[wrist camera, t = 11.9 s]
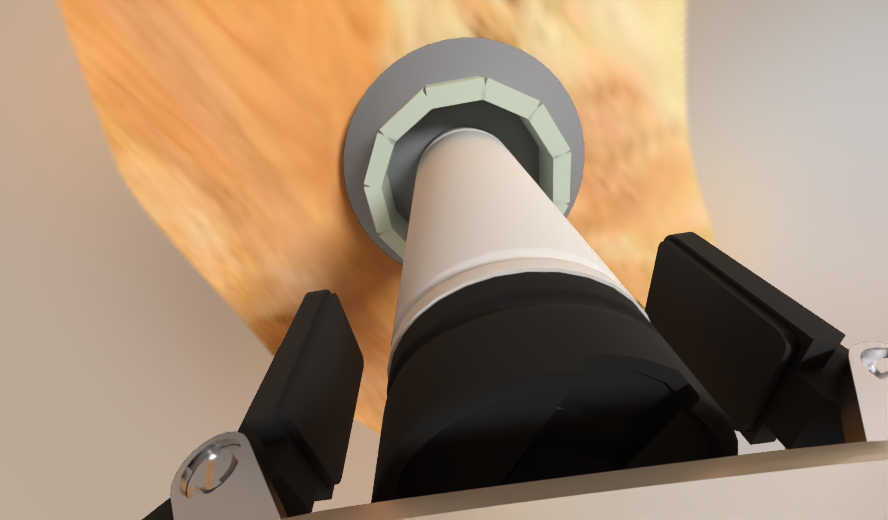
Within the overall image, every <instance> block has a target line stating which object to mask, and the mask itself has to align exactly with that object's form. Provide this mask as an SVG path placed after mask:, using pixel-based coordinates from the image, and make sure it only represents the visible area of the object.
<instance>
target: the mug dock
mask: <svg viewBox="0 0 888 520" xmlns="http://www.w3.org/2000/svg"><path fill="white" fill-rule="evenodd" d="M457 126H475V127H479V128H483V129H485V130H487V131H489V132H491V133H492V134H493V135H495V136H496V137H497V138H498V139H499V140H500V141H501V142H502V143H503V145H504V146H505V147H506V148H507V149H508V150H509V152H510V153H511V154H512V155H513V156H514V158H515V159H516V160H517V161H518V162H519V163H520V165H521V166H522V167H523V168H524V169H525V171H526V172H527V173H528V174H529V175H530V176H531V178H532V179H533V180H534V181H535V182H536V183H537V185H538V186H539V187H540V188H541V189H542V191H543V192H544V193H545V194H546V195H547V196H548V198H549V199H550V200H551V201H552V202H553V204H554V205H555V206H556V207H557V208H558V209H559V211H560V212H561V213H562V214H563V215H564V216H565V218H567V216H568V214H569V212H570V210H571V209H572V207H573V205H574V202H575V200H576V197H577V194H578V192H579V188H580V184H581V180H582V176H583V169H584V160H585V159H584V139H583V132H582V127H581V123H580V120H579V116H578V113H577V110H576V108H575V106H574V104H573V102H572V100H571V97H570V96H569V94H568V93H567V91H566V90H565V88H564V87H563V85H562V84H561V82H560V81H559V80H558V79H557V78H556V77H555V75H554V74H553V73H552V72H551V71H550V70H549V69H548V68H547V67H546V66H544V65H543V64H542V63H541V62H539V61H538V60H537V59H536V58H534V57H533V56H531V55H529V54H527V53H526V52H524V51H522V50H520V49H518V48H516V47H513V46H511V45H508V44H505V43H503V42H498V41H493V40H489V39H484V38H457V39H448V40H443V41H439V42H436V43H432V44H428V45H426V46H424V47H421V48H419V49H417V50H415V51H412V52H410V53H409V54H407V55H405V56H404V57H402V58H401V59H399V60H398V61H396V62H395V63H393V64H392V65H391V66H390V67H389V68H388V69H386V70H385V71H384V72H383V73H382V74H381V75H380V76H379V77H378V78H377V79H376V80H375V82H374V83H373V84H372V85H371V86H370V87H369V88H368V90H367V92H366V93H365V95H364V96H363V98H362V99H361V101H360V102H359V104H358V106H357V109H356V111H355V113H354V115H353V117H352V119H351V123H350V126H349V129H348V133H347V136H346V142H345V148H344V178H345V185H346V189H347V193H348V197H349V201H350V203H351V206H352V208H353V211H354V213H355V215H356V217H357V219H358V221H359V223H360V224H361V226H362V228H363V229H364V230H365V232H366V233H367V234H368V236H369V237H370V238H371V239H372V240H373V242H374V243H375V244H376V245H377V246H378V247H379V248H380V249H381V250H383V251H384V252H385V253H386V254H387V255H388V256H390V257H391V258H393V259H394V260H396V261H397V262H399V263H400V264H402V265H403V261H404V254H405V247H406V241H407V234H408V227H409V220H410V214H411V207H412V200H413V193H414V187H415V180H416V173H417V167H418V162H419V159H420V157H421V154H422V152H423V150H424V149H425V147H426V146H427V144H428V143H429V142H430V141H431V140H432V139H433V138H434V137H435V136H437V135H438V134H440V133H441V132H443V131H445V130H447V129H450V128H452V127H457Z"/></svg>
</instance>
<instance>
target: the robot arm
mask: <svg viewBox="0 0 888 520" xmlns="http://www.w3.org/2000/svg"><path fill="white" fill-rule="evenodd" d="M645 313H646V314H647V315H648V318H649V320H650V323H651V324H652V325H653V326H654V328H655V329H656V330H657V331H658V333H659V334H660V335H661V336H662V337H663V338H664V340H665V341H666V342H667V343H668V344H669V346H670V347H671V348H672V349H673V350H674V352H675V353H676V354H677V355H678V357H679V358H680V359H681V360H682V361H683V363H684V364H685V365H686V366H687V367H688V369H689V370H690V371H691V372H692V374H693V375H694V376H695V377H696V378H697V380H698V381H699V382H700V383H701V384H702V386H703V387H704V388H705V389H706V391H707V392H708V393H709V394H710V395H711V397H712V398H713V399H714V400H715V401H716V403H717V404H718V405H719V406H720V407H721V409H722V410H723V411H724V412H725V413H726V414H727V416H728V417H729V418H730V420H731V423H732V426H733V428H734V430H736V431H740V432H741V434H742V435H743V436H744V437H745V439H746V440H747V441H748V442H749V443H750V444H751V445H752V444H760V443H767V442H774V441H775V440H776V438H777V439H778V440H779V441H780V442H781V443H782V444H783V445H784V447H785V450H778V451H770V452H761V453H754V454H745V455H737V456H729V457H721V458H713V459H705V460H697V461H689V462H681V463H672V464H664V465H656V466H648V467H640V468H633V469H625V470H617V471H609V472H601V473H594V474H586V475H578V476H570V477H563V478H555V479H547V480H539V481H532V482H524V483H516V484H509V485H501V486H494V487H486V488H479V489H471V490H464V491H456V492H449V493H441V494H434V495H427V496H419V497H412V498H404V499H397V500H389V501H383V502H376V503H370V504H363V505H357V506H350V507H344V508H338V509H331V510H324V511H319V512H313V513H311V512H312V508H313V504H314V501H320V500H329V499H332V494H333V489H334V485H335V484H339V483H340V481H341V478H342V473H343V468H344V463H345V458H346V453H347V448H348V443H349V438H350V433H351V428H352V423H353V418H354V413H355V408H356V403H357V397H358V392H359V387H360V382H361V377H362V372H363V366H364V361H363V356H362V353H361V351H360V348H359V346H358V344H357V341H356V339H355V336H354V334H353V332H352V329H351V327H350V324H349V322H348V320H347V317H346V315H345V313H344V310H343V308H342V305H341V303H340V301H339V298H338V296H337V295H336V294H335V293H333V294H331V292H330V291H329V290H320V291H314V292H309V293H307V294H306V295H305V297H304V299H303V301H302V303H301V305H300V307H299V310H298V312H297V314H296V316H295V318H294V320H293V322H292V324H291V326H290V328H289V330H288V332H287V334H286V336H285V338H284V340H283V342H282V344H281V346H280V347H279V349H278V351H277V353H276V355H275V357H274V359H273V361H272V363H271V365H270V367H269V369H268V371H267V373H266V375H265V377H264V379H263V381H262V383H261V385H260V387H259V389H258V391H257V393H256V395H255V398H254V399H253V401H252V404H251V406H250V407H249V409H248V412H247V414H246V416H245V418H244V420H243V422H242V424H241V426H240V428H239V430H238V432H226V433H223V434H220V435H217V436H215V437H213V438H211V439H210V440H208V441H206V442H204V443H203V444H202V445H201V446H200V447H198V448H197V449H196V450H194V451H193V452H192V453H191V455H189V457H188V458H187V459H186V460H185V461H184V462H183V463H182V465H181V466H180V468H179V469H178V471H177V472H176V474H175V477H174V479H173V482H172V484H171V494H170V496H171V497H170V498H169V499H168V500H166V501H165V502H164V503H163V504H161V505H160V506H159V507H157V508H156V509H155V510H154V511H152V512H151V513H150V514H149V515H147V516H146V517H145V518H144V519H142V520H888V343H883V342H863V343H859V344H855V345H854V346H853V347H852V348H850V349H849V350H848V349H847V348H845V347H844V346H842V345H841V344H840V343H841V341H842V340H843V338H844V337H845V334H843V333H842V332H840V331H839V330H837V329H836V328H834V327H833V326H831V325H830V324H829V323H827V322H826V321H824V320H823V319H821V318H820V317H818V316H817V315H815V314H814V313H812V312H811V311H809V310H808V309H806V308H805V307H803V306H802V305H800V304H799V303H797V302H796V301H794V300H793V299H792V298H790V297H789V296H787V295H786V294H784V293H783V292H781V291H780V290H778V289H777V288H775V287H774V286H772V285H771V284H769V283H768V282H766V281H765V280H763V279H762V278H760V277H759V276H758V275H756V274H754V273H753V272H752V271H750V270H749V269H747V268H746V267H744V266H743V265H741V264H740V263H738V262H737V261H735V260H734V259H732V258H731V257H729V256H728V255H726V254H725V253H723V252H722V251H720V250H719V249H718V248H716V247H715V246H713V245H712V244H710V243H709V242H707V241H706V240H704V239H703V238H701V237H700V236H698V235H697V234H695V233H693V232H686V233H680V234H673V235H669V236H667V237H666V238H665V239H664V241H663V242H661V243H660V244H659V247H658V251H657V256H656V261H655V265H654V270H653V275H652V279H651V284H650V289H649V293H648V298H647V303H646V308H645Z"/></svg>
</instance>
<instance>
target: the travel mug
mask: <svg viewBox="0 0 888 520" xmlns="http://www.w3.org/2000/svg"><path fill="white" fill-rule="evenodd" d="M387 373H388V386H387V400H386V405H385V409H384V415H383V422H382V429H381V436H380V443H379V451H378V458H377V465H376V473H375V479H374V487H373V494H372V501H371V503H376V502H383V501H389V500H397V499H404V498H412V497H419V496H427V495H434V494H441V493H449V492H456V491H464V490H471V489H479V488H486V487H494V486H501V485H509V484H516V483H524V482H532V481H539V480H547V479H555V478H563V477H570V476H578V475H586V474H594V473H601V472H609V471H617V470H625V469H633V468H640V467H648V466H656V465H664V464H672V463H681V462H689V461H697V460H705V459H713V458H721V457H729V456H737V455H738V440H737V437H736V434H735V431H734V428H733V426H732V423H731V420H730V418H729V417H728V416H727V414H726V413H725V412H724V411H723V410H722V409H721V407H720V406H719V405H718V404H717V403H716V401H715V400H714V399H713V398H712V397H711V395H710V394H709V393H708V392H707V391H706V389H705V388H704V387H703V386H702V384H701V383H700V382H699V381H698V380H697V378H696V377H695V376H694V375H693V374H692V372H691V371H690V370H689V369H688V367H687V366H686V365H685V364H684V363H683V361H682V360H681V359H680V358H679V357H678V355H677V354H676V353H675V352H674V350H673V349H672V348H671V347H670V346H669V344H668V343H667V342H666V341H665V340H664V338H663V337H662V336H661V335H660V334H659V333H658V331H657V330H656V329H655V328H654V326H653V325H652V324H651V323H650V320H649V318H648V315H647V314H646V313H645V311H644V310H643V309H642V308H641V306H640V305H639V304H638V303H637V301H636V300H635V299H634V298H633V297H632V295H631V294H630V293H629V292H628V291H627V290H626V288H624V286H623V285H622V284H621V283H620V282H619V280H618V279H617V278H616V277H615V275H614V274H613V273H612V272H611V271H610V270H609V268H608V267H607V266H606V265H605V264H604V262H603V261H602V260H601V259H600V258H599V257H598V255H597V254H596V253H595V252H594V251H593V249H592V248H591V247H590V246H589V245H588V244H587V242H586V241H585V240H584V239H583V238H582V237H581V235H580V234H579V233H578V232H577V231H576V229H575V228H574V227H573V226H572V225H571V224H570V222H569V221H568V220H567V219H566V218H565V216H564V215H563V214H562V213H561V212H560V211H559V209H558V208H557V207H556V206H555V205H554V204H553V202H552V201H551V200H550V199H549V198H548V196H547V195H546V194H545V193H544V192H543V191H542V189H541V188H540V187H539V186H538V185H537V183H536V182H535V181H534V180H533V179H532V178H531V176H530V175H529V174H528V173H527V172H526V171H525V169H524V168H523V167H522V166H521V165H520V163H519V162H518V161H517V160H516V159H515V158H514V156H513V155H512V154H511V153H510V152H509V150H508V149H507V148H506V147H505V146H504V145H503V143H502V142H501V141H500V140H499V139H498V138H497V137H496V136H495V135H493V134H492V133H491V132H489V131H487V130H485V129H483V128H479V127H475V126H457V127H452V128H450V129H447V130H445V131H443V132H441V133H440V134H438V135H437V136H435V137H434V138H433V139H432V140H431V141H430V142H429V143H428V144H427V146H426V147H425V149H424V150H423V152H422V154H421V157H420V159H419V162H418V167H417V173H416V180H415V187H414V193H413V200H412V207H411V214H410V220H409V227H408V234H407V241H406V247H405V254H404V261H403V268H402V274H401V281H400V288H399V295H398V301H397V308H396V315H395V322H394V328H393V335H392V342H391V351H390V356H389V362H388V369H387Z"/></svg>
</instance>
